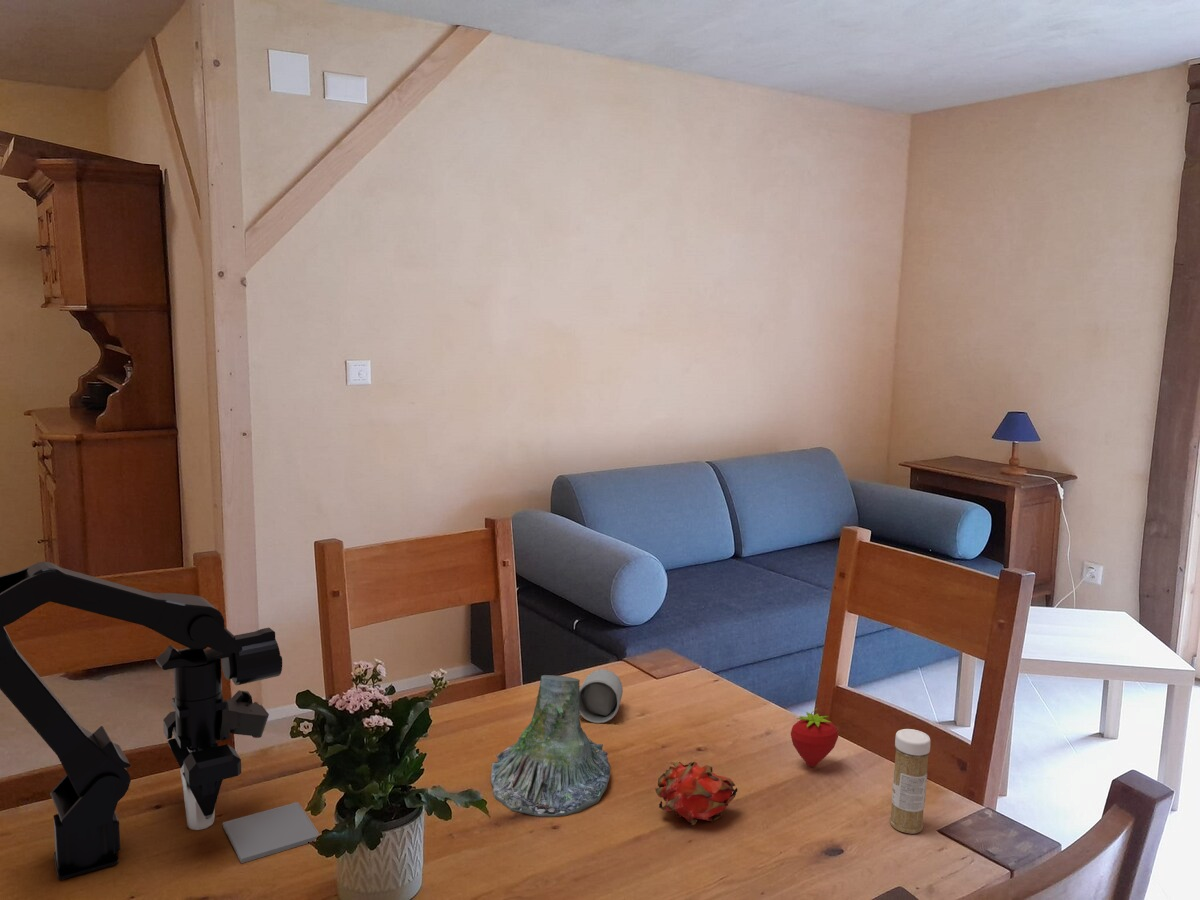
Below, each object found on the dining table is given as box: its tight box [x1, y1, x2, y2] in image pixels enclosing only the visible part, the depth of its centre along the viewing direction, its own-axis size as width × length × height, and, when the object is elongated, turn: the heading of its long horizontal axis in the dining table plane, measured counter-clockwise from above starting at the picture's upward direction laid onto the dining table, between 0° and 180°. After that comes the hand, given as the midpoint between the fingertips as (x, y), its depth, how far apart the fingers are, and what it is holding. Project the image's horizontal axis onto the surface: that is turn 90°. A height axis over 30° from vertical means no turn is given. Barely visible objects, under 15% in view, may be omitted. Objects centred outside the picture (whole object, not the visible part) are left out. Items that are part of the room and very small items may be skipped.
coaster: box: [222, 801, 320, 864], centre depth 121 cm, size 10×10×1 cm
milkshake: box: [179, 764, 216, 831], centre depth 122 cm, size 4×5×10 cm
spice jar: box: [889, 728, 931, 834], centre depth 125 cm, size 5×5×14 cm
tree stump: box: [490, 674, 611, 818], centre depth 137 cm, size 18×20×18 cm
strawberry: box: [790, 708, 839, 768], centre depth 142 cm, size 6×8×10 cm
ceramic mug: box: [579, 668, 624, 724], centre depth 160 cm, size 11×8×8 cm
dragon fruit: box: [654, 761, 738, 826], centre depth 127 cm, size 8×8×12 cm
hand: (202, 803), depth 122 cm, fingers open, 7 cm apart
